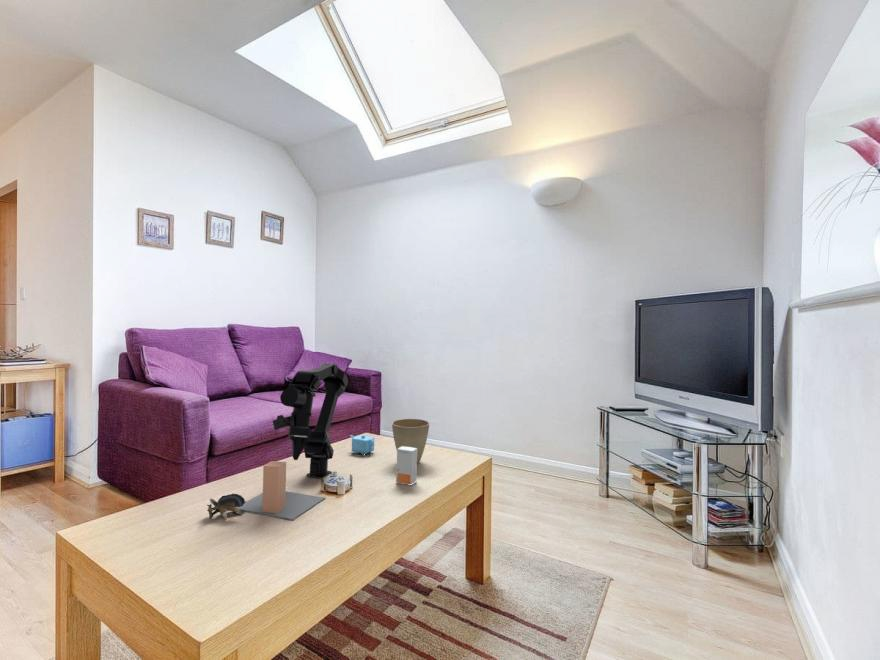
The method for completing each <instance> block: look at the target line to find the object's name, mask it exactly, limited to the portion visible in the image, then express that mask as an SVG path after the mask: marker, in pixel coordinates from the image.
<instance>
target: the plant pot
mask: <svg viewBox="0 0 880 660" xmlns="http://www.w3.org/2000/svg"><path fill="white" fill-rule="evenodd" d="M391 426H392V427H391V428H392V435H393V440H394V441H393V442H394V445H395V449H396V451H397V449H398V448H400V447H402V446H405V447H412V448H417V463H418V462H419V461H420V462H421V460H422V456H423V453H424V451H425V447H426V445H427V440H428V436H429V428H430V421H428V420H425V419H419V418H401V419H395V420H393V421H392V422H391ZM420 462H419V463H420Z"/></svg>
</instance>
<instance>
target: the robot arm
mask: <svg viewBox="0 0 880 660" xmlns="http://www.w3.org/2000/svg"><path fill="white" fill-rule="evenodd" d="M321 381H322V382H323V387H324V391H325V395H324V399H323V402H322V405H321V408H320V411H319V415H318V418H317V421H316V426H315V428H314V429H313V430H312V429H311V428H310V424H311V417H312V408H313V404H314V403H313V401H314V398H315V397H316V393H315V392H314V391H315V389H317V388H318V387H319V386H320V385H321ZM348 384H349V378H348V376H347V374H346V372H345V371H343V370H342V369H340V368H339V366H338V364H336V363H323V364H322V365H320V366H318V367H316V368H313V369H310V370H298V371H296V373H295V374H294V376H293V378H292V379H291V381H290V383H289V384H288V386H287V387H286V388H285V389H283V391H282V392H281V393H280V403H282V405H283V406H285V407H289V408H293V409H292V412H291V413H290V415H289V416H286V417H285V416H284V415H283V414H281V415H280V414H279V415H277V416H276V419H273V420H272V425H273V431H277V430H280V429H283V428H288V427H289V428H288V432H287V437H288V438H289V439H290V441H291V443H292V444H291V447H292V448H291V449H292V451H291V452H292V458H293V461H298V460H299V458H300V456H301V455H302V452H303V451H304V456H305V459H309V461H310V462H309V463H310V464H309V472H308V473H306V475H305V476H306V477H312V478H318V479H322V477H323V478H324V476H325V477H326V476H328V475H329V474H332V471H331V470H328V467H329V466H328V463H329V460H331V459H333V457H334V448H333V447H332V445H331V438H330V434H329V431H330V428H331V424H332V421H333V417H334V413H335V411H336V406H337V403H338V400H339V397H341V396H342V394H343V393H345V391H346V388H347V387H348Z"/></svg>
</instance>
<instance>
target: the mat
mask: <svg viewBox="0 0 880 660" xmlns="http://www.w3.org/2000/svg"><path fill="white" fill-rule="evenodd" d="M325 500H326V497H323V496H318V495H311V494H306V493H301V492H300V493H299V492H294V491H293V492H292V491H288V490H286V493H285V507H284V508H283V509H282V510H280V511H279V512H278V513H271V512H262V503H263V492H262V493H260V494H257V495H256V496H254V497H252V498H250V499H248V500H245V504H243V506H241V507H237V508H238V509H239V510H241V511H244V512H245V513H249V514H250V513H251V514H257V515H260V516H267V517H272V518H277V519H282V520H288V521H294V520H296V519H298V518H299V517H301V516H302V515H304V514H305V513H307V512H308V511H310V510H311V509H313V508H314V507H316V506H317V505H318V504H320V503H321V502H323V501H325Z"/></svg>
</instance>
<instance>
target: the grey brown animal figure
mask: <svg viewBox="0 0 880 660" xmlns="http://www.w3.org/2000/svg"><path fill="white" fill-rule="evenodd" d="M245 502H246V500H245V498H244V497H243V496H242V495H241V494H239V493H230V494H226V495H222V496H221V497H219V499H218V500H217V501H216V500H215V499H214V498H209V503H210V504H206V507H207V506H208V507H207V512H208V515H209V517H208V520H212V519H213V517H214V516H215V515H216V514H218V513H220V515H221V516H222V517H223V519H224V521H226V520H227V519H228V518H227V517H228V514H227V512H233V513H237V514H238V515H244V514H245V513H246V512H245V511H241V510H239V509H238V508H237V507H241V506H243V504H245Z"/></svg>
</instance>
